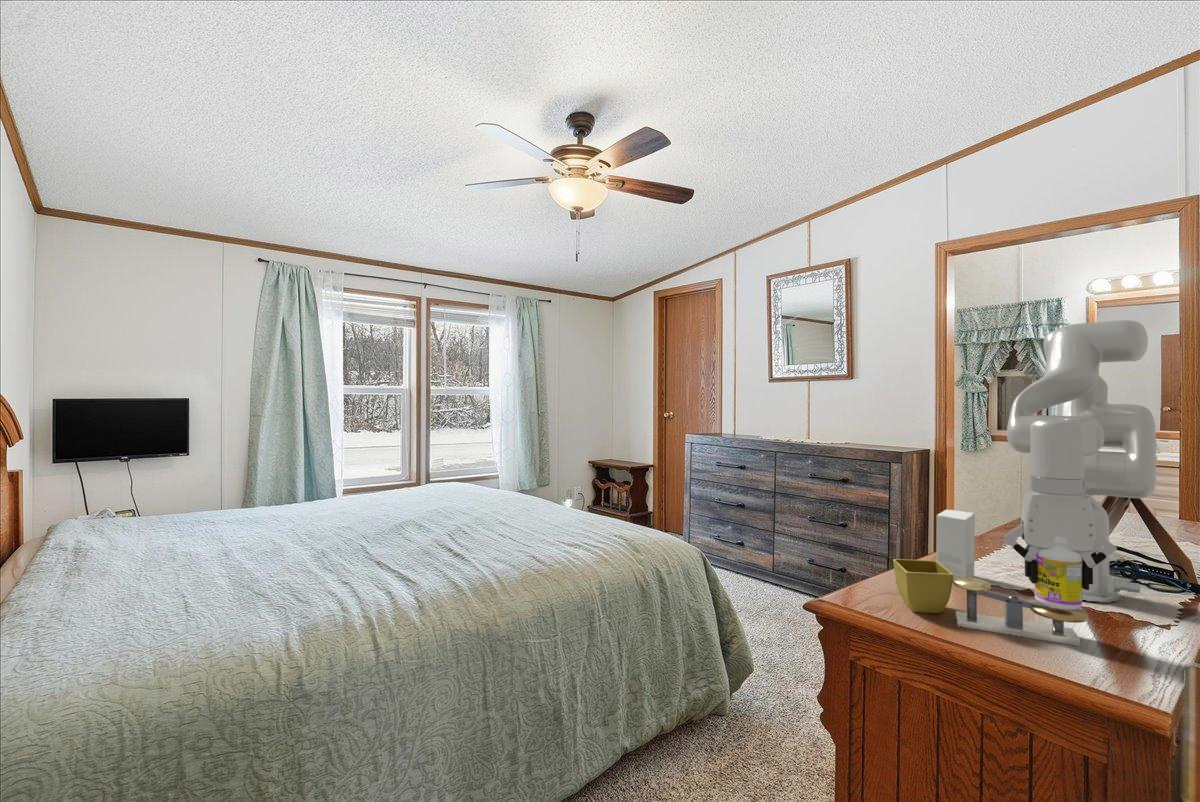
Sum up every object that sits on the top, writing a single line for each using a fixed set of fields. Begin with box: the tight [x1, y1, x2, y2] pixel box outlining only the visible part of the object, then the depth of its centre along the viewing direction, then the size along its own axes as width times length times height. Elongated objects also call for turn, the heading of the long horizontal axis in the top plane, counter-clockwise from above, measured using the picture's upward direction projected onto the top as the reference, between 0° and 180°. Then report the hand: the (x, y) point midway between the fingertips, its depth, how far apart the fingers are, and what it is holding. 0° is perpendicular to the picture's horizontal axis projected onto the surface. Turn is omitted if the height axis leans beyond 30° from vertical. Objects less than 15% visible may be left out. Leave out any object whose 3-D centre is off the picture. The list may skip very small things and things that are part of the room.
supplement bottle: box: [1034, 537, 1083, 610], centre depth 99 cm, size 7×7×13 cm
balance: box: [952, 576, 1088, 647], centre depth 102 cm, size 20×8×8 cm, turn 61°
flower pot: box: [892, 558, 953, 614], centre depth 113 cm, size 9×9×9 cm
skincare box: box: [936, 508, 976, 578], centre depth 132 cm, size 8×7×16 cm
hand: (1057, 583), depth 99 cm, fingers closed on supplement bottle, 6 cm apart
